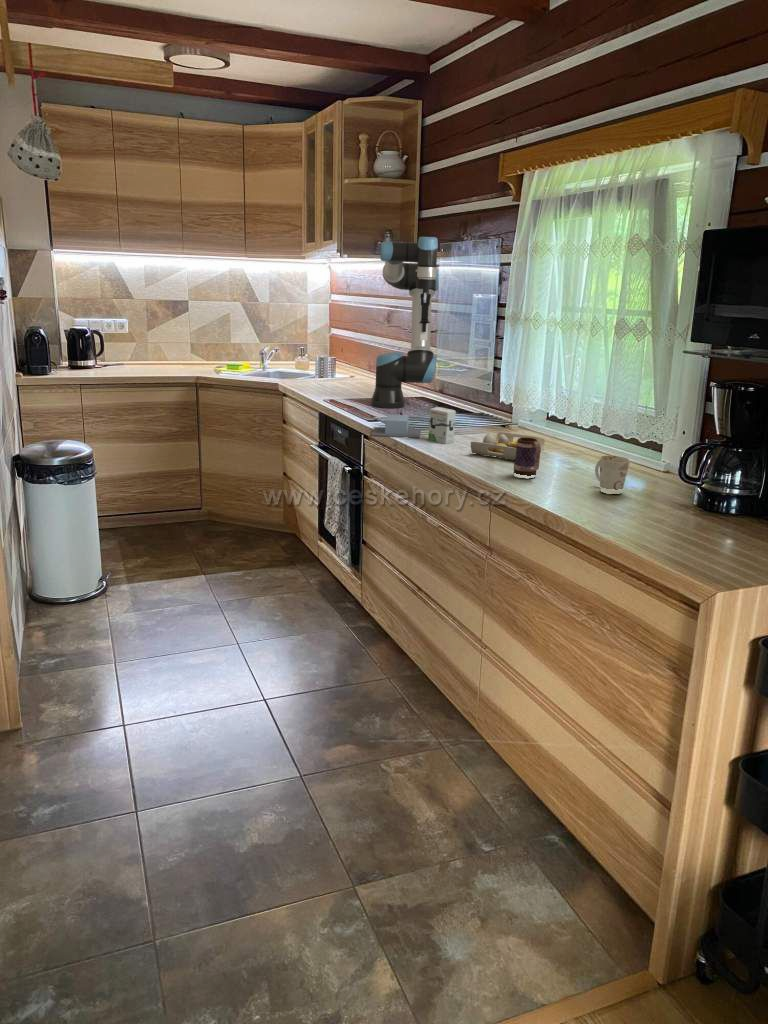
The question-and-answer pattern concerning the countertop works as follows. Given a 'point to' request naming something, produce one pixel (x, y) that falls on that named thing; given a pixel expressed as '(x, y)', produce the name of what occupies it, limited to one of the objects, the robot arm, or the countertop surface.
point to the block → (396, 424)
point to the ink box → (442, 425)
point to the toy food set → (501, 445)
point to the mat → (410, 434)
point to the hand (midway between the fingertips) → (423, 339)
